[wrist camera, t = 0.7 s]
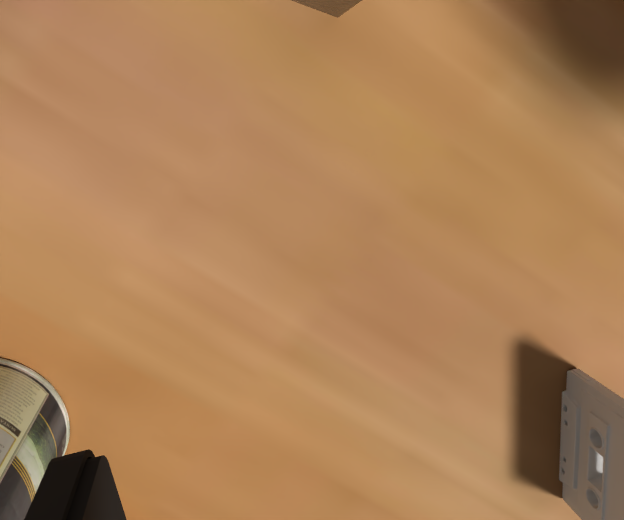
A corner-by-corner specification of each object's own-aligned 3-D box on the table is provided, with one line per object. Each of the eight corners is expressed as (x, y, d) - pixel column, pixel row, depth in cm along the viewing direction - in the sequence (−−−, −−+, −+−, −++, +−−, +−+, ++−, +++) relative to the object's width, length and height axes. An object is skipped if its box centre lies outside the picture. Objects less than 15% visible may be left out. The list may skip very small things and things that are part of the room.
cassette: (560, 369, 43) (634, 421, 35) (582, 365, 43) (659, 416, 36) (556, 500, 46) (622, 572, 39) (576, 495, 46) (646, 566, 39)
